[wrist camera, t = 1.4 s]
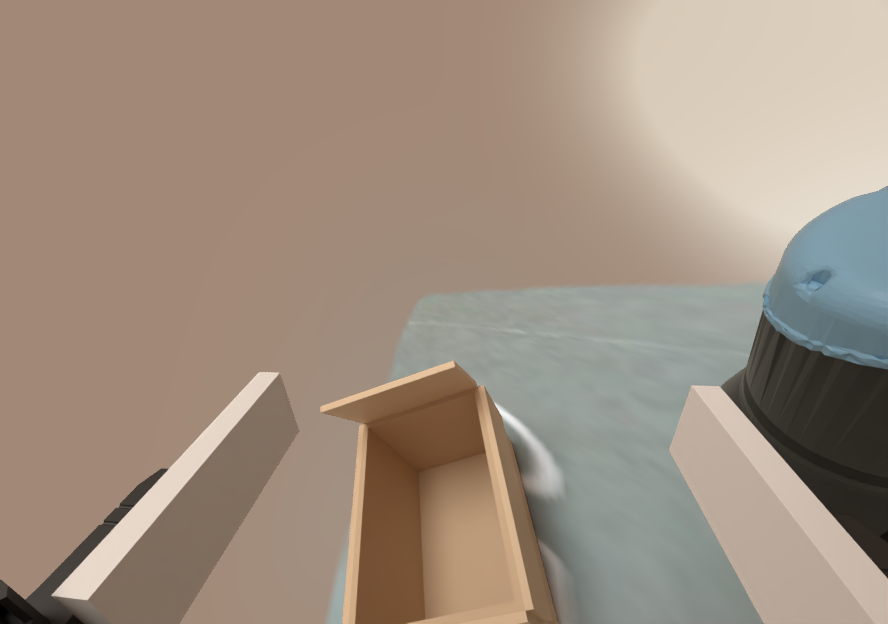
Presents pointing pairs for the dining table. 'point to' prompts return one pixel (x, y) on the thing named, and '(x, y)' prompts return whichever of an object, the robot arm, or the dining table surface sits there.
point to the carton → (442, 522)
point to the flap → (402, 394)
